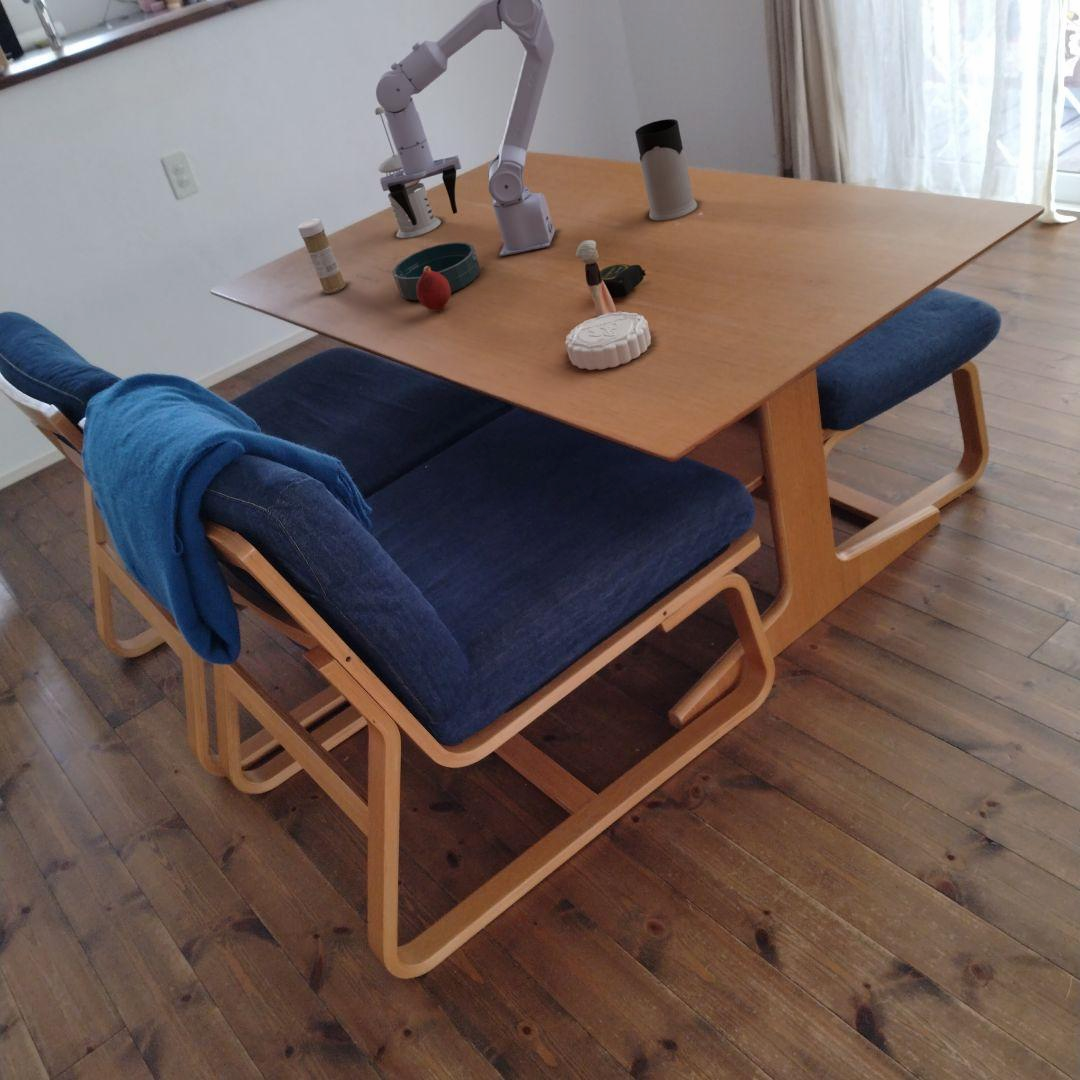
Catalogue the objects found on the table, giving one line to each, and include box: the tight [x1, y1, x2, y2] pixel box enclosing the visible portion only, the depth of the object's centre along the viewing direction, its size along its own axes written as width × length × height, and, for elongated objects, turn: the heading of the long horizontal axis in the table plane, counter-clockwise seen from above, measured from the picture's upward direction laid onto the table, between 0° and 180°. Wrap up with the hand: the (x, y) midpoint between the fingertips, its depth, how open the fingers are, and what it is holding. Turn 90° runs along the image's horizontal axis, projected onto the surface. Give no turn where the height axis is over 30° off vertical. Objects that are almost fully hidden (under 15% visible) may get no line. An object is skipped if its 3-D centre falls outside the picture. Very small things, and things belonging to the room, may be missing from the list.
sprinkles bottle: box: [297, 218, 346, 294], centre depth 209 cm, size 5×5×14 cm
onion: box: [416, 266, 452, 312], centre depth 187 cm, size 6×6×8 cm
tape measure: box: [600, 263, 646, 300], centre depth 173 cm, size 7×7×4 cm
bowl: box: [392, 241, 482, 301], centre depth 199 cm, size 15×15×4 cm
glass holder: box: [634, 118, 698, 221], centre depth 197 cm, size 9×14×15 cm, turn 167°
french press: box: [374, 106, 442, 239], centre depth 225 cm, size 10×12×25 cm
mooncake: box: [565, 311, 652, 371], centre depth 157 cm, size 12×12×4 cm
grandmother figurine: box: [575, 239, 617, 318], centre depth 164 cm, size 8×4×13 cm, turn 12°
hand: (435, 217), depth 201 cm, fingers open, 7 cm apart
